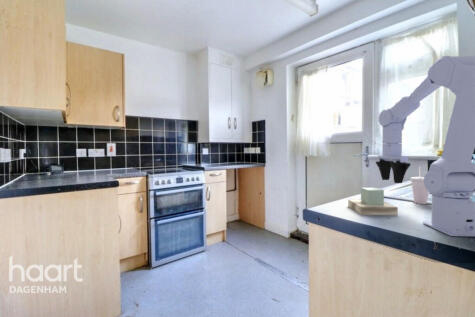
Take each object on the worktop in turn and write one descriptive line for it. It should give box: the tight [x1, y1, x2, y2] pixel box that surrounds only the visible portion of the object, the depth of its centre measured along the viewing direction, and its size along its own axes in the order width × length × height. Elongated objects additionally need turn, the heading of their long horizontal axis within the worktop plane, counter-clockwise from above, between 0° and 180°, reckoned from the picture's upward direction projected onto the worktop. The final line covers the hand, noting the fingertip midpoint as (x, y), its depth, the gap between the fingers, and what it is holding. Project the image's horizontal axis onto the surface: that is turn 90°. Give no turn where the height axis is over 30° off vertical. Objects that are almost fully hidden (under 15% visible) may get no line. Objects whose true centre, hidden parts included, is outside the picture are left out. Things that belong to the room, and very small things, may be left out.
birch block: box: [347, 198, 399, 216], centre depth 78 cm, size 11×11×3 cm
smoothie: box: [410, 166, 430, 205], centre depth 85 cm, size 6×6×14 cm
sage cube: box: [360, 187, 385, 205], centre depth 77 cm, size 5×5×5 cm
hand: (391, 181), depth 81 cm, fingers open, 7 cm apart
